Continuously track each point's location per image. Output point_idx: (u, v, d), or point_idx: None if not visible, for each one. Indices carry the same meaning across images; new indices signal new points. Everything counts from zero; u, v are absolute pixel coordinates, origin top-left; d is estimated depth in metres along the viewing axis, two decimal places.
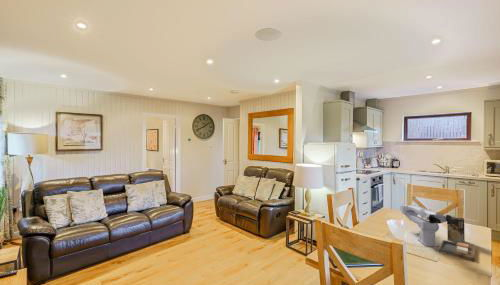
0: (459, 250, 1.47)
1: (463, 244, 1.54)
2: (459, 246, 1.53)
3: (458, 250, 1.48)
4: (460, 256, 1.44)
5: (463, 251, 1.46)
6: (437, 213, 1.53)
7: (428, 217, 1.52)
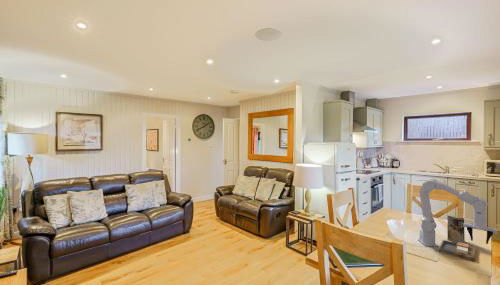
0: (459, 250, 1.47)
1: (463, 244, 1.54)
2: (459, 246, 1.53)
3: (458, 250, 1.48)
4: (460, 256, 1.44)
5: (463, 251, 1.46)
6: (478, 228, 1.41)
7: None
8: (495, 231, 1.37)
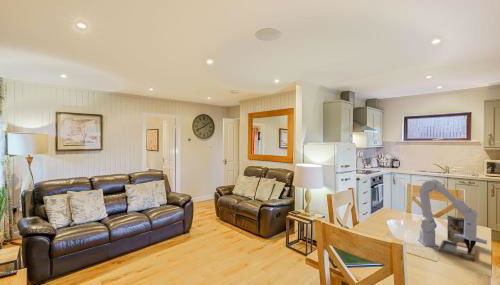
0: (459, 250, 1.47)
1: (463, 244, 1.54)
2: (459, 246, 1.53)
3: (458, 250, 1.48)
4: (460, 256, 1.44)
5: (463, 251, 1.46)
6: (468, 239, 1.44)
7: (456, 237, 1.50)
8: (485, 242, 1.40)
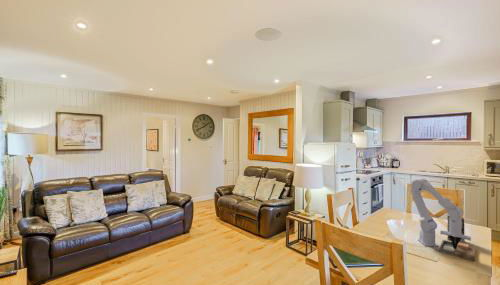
0: (446, 249, 1.52)
1: (463, 244, 1.54)
2: (459, 246, 1.53)
3: (445, 249, 1.52)
4: (460, 256, 1.44)
5: (449, 250, 1.50)
6: None
7: None
8: (469, 238, 1.45)
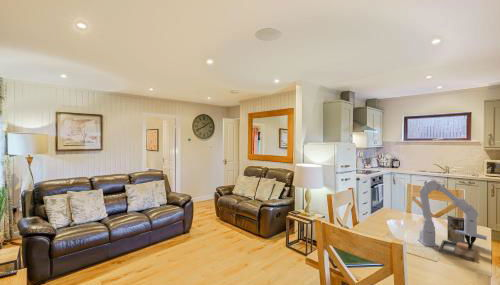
0: (446, 249, 1.52)
1: (463, 244, 1.54)
2: (459, 246, 1.53)
3: (445, 249, 1.52)
4: (460, 256, 1.44)
5: (449, 250, 1.50)
6: (469, 235, 1.49)
7: (457, 233, 1.55)
8: (485, 238, 1.46)
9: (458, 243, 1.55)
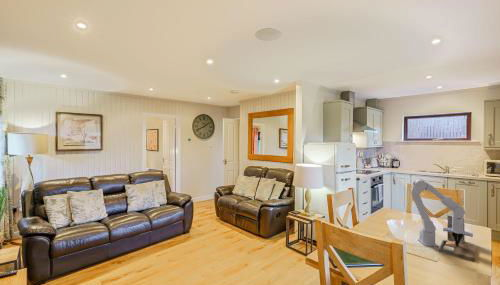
0: (446, 249, 1.52)
1: (450, 242, 1.58)
2: (447, 245, 1.57)
3: (445, 249, 1.52)
4: (460, 256, 1.44)
5: (449, 250, 1.50)
6: (456, 232, 1.54)
7: None
8: (471, 235, 1.50)
9: (446, 242, 1.60)
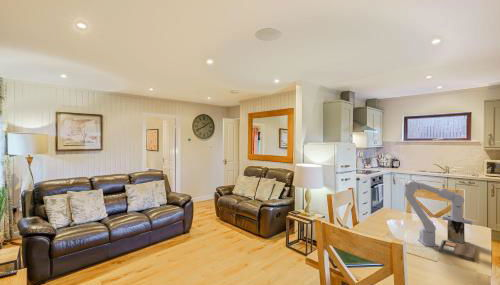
0: (446, 249, 1.52)
1: (451, 243, 1.58)
2: (447, 245, 1.58)
3: (445, 249, 1.52)
4: (460, 256, 1.44)
5: (449, 250, 1.50)
6: (455, 221, 1.54)
7: (444, 219, 1.60)
8: (470, 223, 1.50)
9: (446, 242, 1.60)
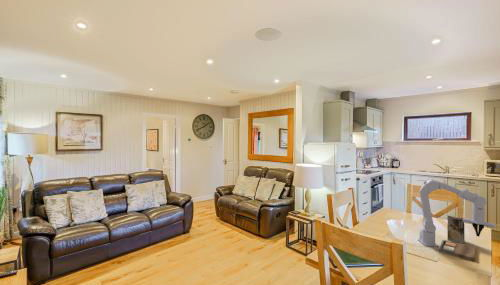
0: (446, 249, 1.52)
1: (451, 243, 1.58)
2: (447, 245, 1.58)
3: (445, 249, 1.52)
4: (460, 256, 1.44)
5: (449, 250, 1.50)
6: (477, 223, 1.49)
7: None
8: (493, 225, 1.46)
9: (446, 242, 1.60)
